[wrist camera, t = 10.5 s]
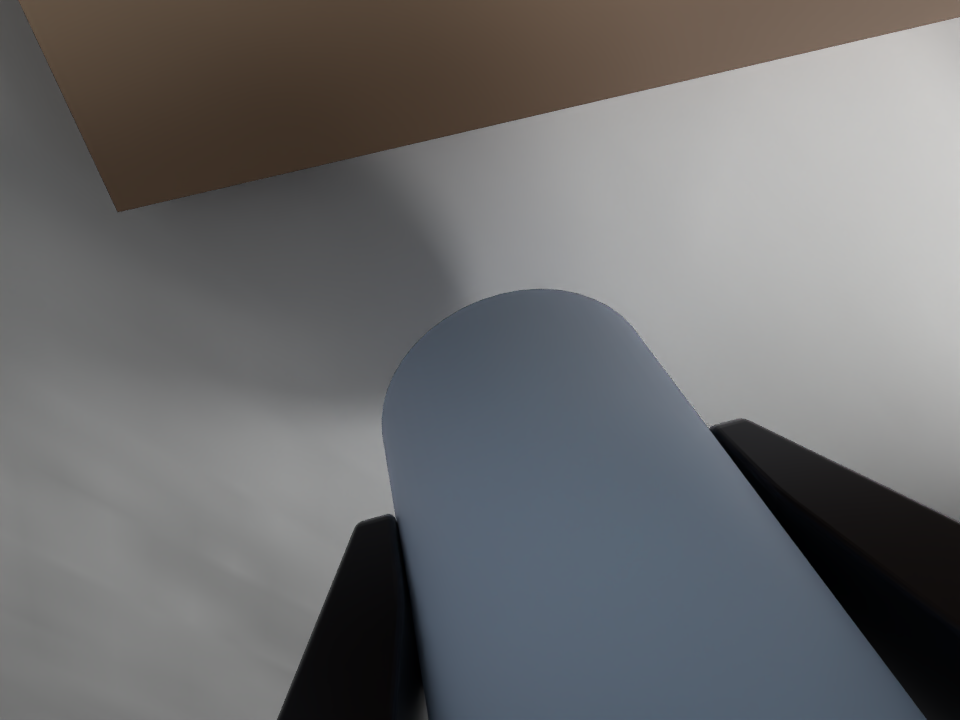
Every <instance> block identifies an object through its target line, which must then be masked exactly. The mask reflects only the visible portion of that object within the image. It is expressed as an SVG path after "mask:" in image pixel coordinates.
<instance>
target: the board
mask: <svg viewBox="0 0 960 720" xmlns="http://www.w3.org/2000/svg"><path fill="white" fill-rule="evenodd" d="M18 1H19V3H20V5H21V7H22V9H23V11H24V13H25V15H26V18H27V20H28V22H29V24H30V26H31V28H32V30H33V33H34V35H35V37H36V39H37V41H38V43H39V45H40V48H41V50H42V52H43V54H44V56H45V58H46V60H47V62H48V65H49V67H50V69H51V71H52V73H53V75H54V77H55V80H56V82H57V84H58V86H59V88H60V90H61V92H62V94H63V97H64V99H65V101H66V103H67V105H68V107H69V109H70V112H71V114H72V116H73V118H74V120H75V122H76V124H77V126H78V129H79V131H80V133H81V135H82V137H83V139H84V141H85V144H86V146H87V148H88V150H89V152H90V154H91V156H92V158H93V161H94V163H95V165H96V167H97V169H98V171H99V173H100V176H101V178H102V180H103V182H104V184H105V186H106V188H107V190H108V193H109V195H110V197H111V199H112V201H113V203H114V205H115V208H116V210H117V212H121V211H125V210H130V209H134V208H138V207H143V206H147V205H151V204H156V203H160V202H164V201H168V200H173V199H177V198H181V197H186V196H190V195H194V194H199V193H203V192H207V191H212V190H216V189H220V188H225V187H229V186H233V185H237V184H242V183H246V182H250V181H255V180H259V179H263V178H268V177H272V176H276V175H281V174H285V173H289V172H294V171H298V170H302V169H306V168H311V167H315V166H319V165H324V164H328V163H332V162H337V161H341V160H345V159H350V158H354V157H358V156H362V155H367V154H371V153H375V152H380V151H384V150H388V149H393V148H397V147H401V146H406V145H410V144H414V143H419V142H423V141H427V140H431V139H436V138H440V137H444V136H449V135H453V134H457V133H462V132H466V131H470V130H475V129H479V128H483V127H488V126H492V125H496V124H500V123H505V122H509V121H513V120H518V119H522V118H526V117H531V116H535V115H539V114H544V113H548V112H552V111H557V110H561V109H565V108H569V107H574V106H578V105H582V104H587V103H591V102H595V101H600V100H604V99H608V98H613V97H617V96H621V95H626V94H630V93H634V92H638V91H643V90H647V89H651V88H656V87H660V86H664V85H669V84H673V83H677V82H682V81H686V80H690V79H694V78H699V77H703V76H707V75H712V74H716V73H720V72H725V71H729V70H733V69H738V68H742V67H746V66H751V65H755V64H759V63H763V62H768V61H772V60H776V59H781V58H785V57H789V56H794V55H798V54H802V53H807V52H811V51H815V50H820V49H824V48H828V47H832V46H837V45H841V44H845V43H850V42H854V41H858V40H863V39H867V38H871V37H876V36H880V35H884V34H889V33H893V32H897V31H901V30H906V29H910V28H914V27H919V26H923V25H927V24H932V23H936V22H940V21H945V20H949V19H953V18H958V17H960V0H18Z"/></svg>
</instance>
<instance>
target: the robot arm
mask: <svg viewBox="0 0 960 720" xmlns="http://www.w3.org/2000/svg"><path fill="white" fill-rule="evenodd" d="M709 430H710V431H711V432H712V434H713V435H714V436H715V438H716V439H717V440H718V442H719V443H720V444H721V446H722V447H723V448H724V450H725V451H726V452H727V454H728V455H729V456H730V458H731V459H732V460H733V462H734V463H735V464H736V466H737V467H738V468H739V470H740V471H741V472H742V474H743V475H744V476H745V478H746V479H747V480H748V482H749V483H750V484H751V486H752V487H753V488H754V490H755V491H756V492H757V494H758V495H759V496H760V498H761V499H762V500H763V502H764V503H765V504H766V506H767V507H768V508H769V510H770V511H771V512H772V514H773V515H774V516H775V518H776V519H777V520H778V522H779V523H780V524H781V526H782V527H783V528H784V530H785V531H786V532H787V534H788V535H789V536H790V538H791V539H792V540H793V542H794V543H795V544H796V546H797V547H798V548H799V550H800V551H801V552H802V554H803V555H804V556H805V558H806V559H807V560H808V562H809V563H810V564H811V566H812V567H813V568H814V570H815V571H816V572H817V574H818V575H819V576H820V578H821V579H822V580H823V582H824V583H825V584H826V586H827V587H828V588H829V590H830V591H831V592H832V594H833V595H834V596H835V598H836V599H837V600H838V602H839V603H840V604H841V606H842V607H843V608H844V610H845V611H846V612H847V614H848V615H849V616H850V618H851V619H852V620H853V622H854V623H855V624H856V626H857V627H858V628H859V630H860V631H861V632H862V634H863V635H864V636H865V638H866V639H867V640H868V642H869V643H870V644H871V646H872V647H873V648H874V650H875V651H876V652H877V654H878V655H879V656H880V658H881V659H882V660H883V662H884V663H885V664H886V666H887V667H888V668H889V670H890V671H891V672H892V674H893V675H894V676H895V678H896V679H897V680H898V682H899V683H900V684H901V686H902V687H903V688H904V690H905V691H906V692H907V694H908V695H909V696H910V698H911V699H912V700H913V702H914V703H915V704H916V706H917V707H918V708H919V710H920V711H921V712H922V714H923V715H924V716H925V718H926V719H927V720H960V522H958V521H956V520H954V519H952V518H950V517H948V516H946V515H944V514H942V513H940V512H938V511H935V510H933V509H931V508H929V507H927V506H925V505H923V504H921V503H919V502H917V501H915V500H913V499H911V498H909V497H906V496H904V495H902V494H900V493H898V492H896V491H894V490H892V489H890V488H888V487H886V486H884V485H882V484H880V483H877V482H875V481H873V480H871V479H869V478H867V477H865V476H863V475H861V474H859V473H857V472H855V471H853V470H851V469H848V468H846V467H844V466H842V465H840V464H838V463H836V462H834V461H832V460H830V459H828V458H826V457H824V456H822V455H820V454H817V453H815V452H813V451H811V450H809V449H807V448H805V447H803V446H801V445H799V444H797V443H795V442H793V441H791V440H788V439H786V438H784V437H782V436H780V435H778V434H776V433H774V432H772V431H770V430H768V429H766V428H764V427H762V426H759V425H757V424H755V423H753V422H751V421H749V420H746V419H735V420H732V421H728V422H724V423H720V424H717V425H713V426H712V427H710V428H709ZM277 720H428V714H427V707H426V701H425V695H424V689H423V683H422V676H421V670H420V664H419V658H418V652H417V646H416V638H415V631H414V624H413V617H412V610H411V604H410V598H409V592H408V586H407V580H406V574H405V567H404V561H403V555H402V549H401V543H400V537H399V531H398V524H397V521H396V519H395V517H394V516H393V515H390V514H386V515H382V516H379V517H375V518H371V519H368V520H364V521H361V522H359V523H358V524H357V525H356V526H355V528H354V531H353V533H352V536H351V538H350V541H349V543H348V545H347V548H346V550H345V553H344V555H343V558H342V560H341V563H340V565H339V568H338V570H337V573H336V575H335V578H334V580H333V583H332V585H331V587H330V590H329V592H328V595H327V597H326V600H325V602H324V605H323V607H322V610H321V612H320V615H319V617H318V620H317V622H316V625H315V627H314V629H313V632H312V634H311V637H310V639H309V642H308V644H307V647H306V649H305V652H304V654H303V657H302V659H301V662H300V664H299V667H298V669H297V671H296V674H295V676H294V679H293V681H292V684H291V686H290V689H289V691H288V694H287V696H286V699H285V701H284V704H283V706H282V709H281V711H280V713H279V716H278V718H277Z"/></svg>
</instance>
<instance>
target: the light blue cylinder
mask: <svg viewBox="0 0 960 720" xmlns="http://www.w3.org/2000/svg"><path fill="white" fill-rule="evenodd" d="M382 435H383V441H384V448H385V454H386V460H387V466H388V472H389V479H390V485H391V491H392V497H393V503H394V509H395V516H396V521H397V524H398V531H399V537H400V543H401V549H402V555H403V561H404V567H405V574H406V580H407V586H408V592H409V598H410V604H411V610H412V617H413V624H414V631H415V638H416V646H417V652H418V658H419V664H420V670H421V676H422V683H423V689H424V695H425V701H426V707H427V714H428V720H927V719H926V718H925V716H924V715H923V714H922V712H921V711H920V710H919V708H918V707H917V706H916V704H915V703H914V702H913V700H912V699H911V698H910V696H909V695H908V694H907V692H906V691H905V690H904V688H903V687H902V686H901V684H900V683H899V682H898V680H897V679H896V678H895V676H894V675H893V674H892V672H891V671H890V670H889V668H888V667H887V666H886V664H885V663H884V662H883V660H882V659H881V658H880V656H879V655H878V654H877V652H876V651H875V650H874V648H873V647H872V646H871V644H870V643H869V642H868V640H867V639H866V638H865V636H864V635H863V634H862V632H861V631H860V630H859V628H858V627H857V626H856V624H855V623H854V622H853V620H852V619H851V618H850V616H849V615H848V614H847V612H846V611H845V610H844V608H843V607H842V606H841V604H840V603H839V602H838V600H837V599H836V598H835V596H834V595H833V594H832V592H831V591H830V590H829V588H828V587H827V586H826V584H825V583H824V582H823V580H822V579H821V578H820V576H819V575H818V574H817V572H816V571H815V570H814V568H813V567H812V566H811V564H810V563H809V562H808V560H807V559H806V558H805V556H804V555H803V554H802V552H801V551H800V550H799V548H798V547H797V546H796V544H795V543H794V542H793V540H792V539H791V538H790V536H789V535H788V534H787V532H786V531H785V530H784V528H783V527H782V526H781V524H780V523H779V522H778V520H777V519H776V518H775V516H774V515H773V514H772V512H771V511H770V510H769V508H768V507H767V506H766V504H765V503H764V502H763V500H762V499H761V498H760V496H759V495H758V494H757V492H756V491H755V490H754V488H753V487H752V486H751V484H750V483H749V482H748V480H747V479H746V478H745V476H744V475H743V474H742V472H741V471H740V470H739V468H738V467H737V466H736V464H735V463H734V462H733V460H732V459H731V458H730V456H729V455H728V454H727V452H726V451H725V450H724V448H723V447H722V446H721V444H720V443H719V442H718V440H717V439H716V438H715V436H714V435H713V434H712V432H711V431H710V430H709V428H708V427H707V426H706V424H705V423H704V422H703V420H702V419H701V418H700V416H699V415H698V414H697V412H696V411H695V410H694V408H693V407H692V406H691V404H690V403H689V402H688V401H687V399H686V398H685V397H684V395H683V394H682V393H681V391H680V390H679V389H678V387H677V386H676V385H675V383H674V382H673V381H672V379H671V378H670V377H669V375H668V374H667V373H666V371H665V370H664V369H663V367H662V366H661V365H660V363H659V362H658V361H657V359H656V358H655V357H654V355H653V354H652V353H651V351H650V350H649V349H648V347H647V346H646V345H645V343H644V342H643V341H642V339H641V338H640V337H639V335H638V334H637V333H636V331H635V330H634V329H633V327H632V326H631V325H630V324H629V323H628V322H627V321H626V320H625V319H624V318H623V317H622V316H621V315H620V314H618V313H617V312H615V311H614V310H613V309H611V308H610V307H608V306H607V305H605V304H603V303H601V302H599V301H597V300H595V299H592V298H589V297H586V296H583V295H580V294H577V293H573V292H567V291H562V290H551V289H531V290H519V291H514V292H509V293H503V294H499V295H496V296H493V297H489V298H486V299H483V300H480V301H478V302H476V303H473V304H471V305H469V306H467V307H464V308H462V309H461V310H459V311H457V312H455V313H454V314H452V315H450V316H449V317H447V318H445V319H444V320H443V321H441V322H440V323H439V324H437V325H436V326H435V327H433V328H432V329H431V330H429V331H428V332H427V333H426V334H425V335H424V336H423V337H422V338H421V339H420V340H419V341H418V342H417V343H416V344H415V345H414V346H413V348H412V349H411V350H410V351H409V352H408V354H407V355H406V356H405V357H404V359H403V360H402V362H401V364H400V365H399V367H398V368H397V370H396V372H395V373H394V376H393V378H392V380H391V382H390V385H389V387H388V390H387V393H386V397H385V401H384V404H383V413H382Z"/></svg>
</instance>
